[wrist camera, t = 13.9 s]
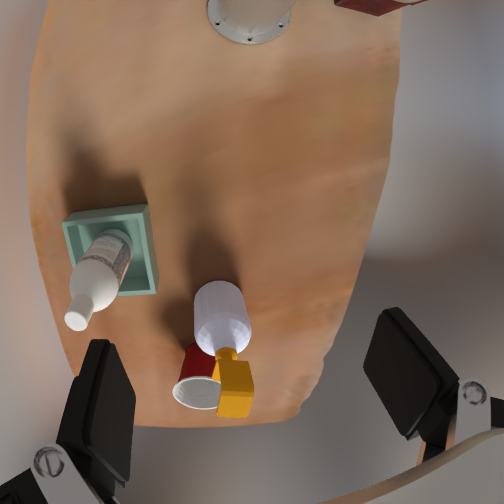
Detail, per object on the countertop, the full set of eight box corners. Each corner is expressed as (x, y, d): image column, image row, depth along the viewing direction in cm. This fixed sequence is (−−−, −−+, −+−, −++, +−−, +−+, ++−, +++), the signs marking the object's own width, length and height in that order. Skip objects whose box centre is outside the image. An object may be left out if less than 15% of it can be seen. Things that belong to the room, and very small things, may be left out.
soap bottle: (190, 315, 55) (193, 426, 33) (199, 275, 51) (204, 386, 29) (236, 322, 57) (258, 429, 35) (248, 283, 53) (281, 390, 32)
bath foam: (119, 272, 47) (87, 353, 30) (88, 248, 44) (41, 320, 27) (142, 245, 46) (114, 322, 28) (110, 219, 43) (62, 283, 25)
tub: (73, 212, 42) (61, 222, 38) (148, 203, 44) (142, 212, 40) (90, 282, 48) (82, 297, 44) (159, 278, 50) (156, 293, 46)
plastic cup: (163, 348, 57) (159, 392, 46) (204, 324, 56) (207, 369, 45) (195, 375, 62) (198, 417, 51) (234, 354, 61) (242, 398, 50)
